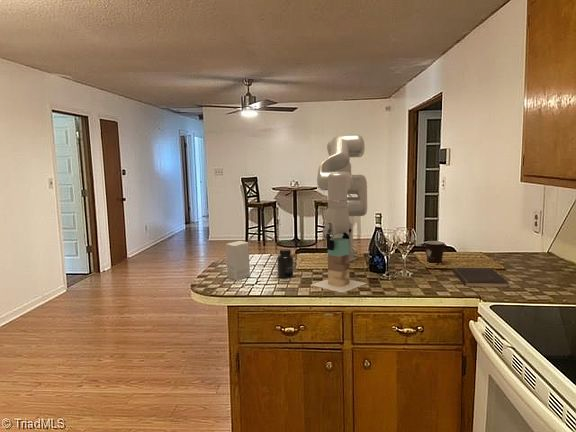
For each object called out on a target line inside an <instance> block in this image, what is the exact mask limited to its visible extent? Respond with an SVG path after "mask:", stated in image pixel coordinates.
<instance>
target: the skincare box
mask: <svg viewBox="0 0 576 432" xmlns="http://www.w3.org/2000/svg"><path fill="white" fill-rule="evenodd" d="M249 245H250V244H249V242H248V241H243V240H238V241H232V242H229V243H225V249H226V253H225V254H226V269H227V270H226V271H227V279H229V280H233V281H238V280H243V279H246V278H249V277H250V276H251V271H250V270H251V268H250V267H251V265H250V247H249Z"/></svg>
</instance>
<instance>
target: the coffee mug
mask: <svg viewBox="0 0 576 432" xmlns="http://www.w3.org/2000/svg"><path fill="white" fill-rule="evenodd" d="M422 249H423V251H424V253H425V254H426V262H429V263H438V264H439V263H442V262H443V256H444V249H445V242H444V241H440V240H439V241H438V240H427V241H425V242H424V243H423V244H422Z"/></svg>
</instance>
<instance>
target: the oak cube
mask: <svg viewBox="0 0 576 432" xmlns="http://www.w3.org/2000/svg"><path fill="white" fill-rule="evenodd" d="M327 279H328V284H329V285H333V286H337V287H342V286H345V285H347V284H349V279H350V268H349V269H348V270H345V271H342V272H337V271H332V270H328V269H327Z"/></svg>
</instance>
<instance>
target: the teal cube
mask: <svg viewBox="0 0 576 432" xmlns="http://www.w3.org/2000/svg"><path fill="white" fill-rule="evenodd" d="M333 240H334V250H327V256H328V255H332V256H338V257H341V256H345V255H348V254H349V239H344V238H333Z"/></svg>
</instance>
